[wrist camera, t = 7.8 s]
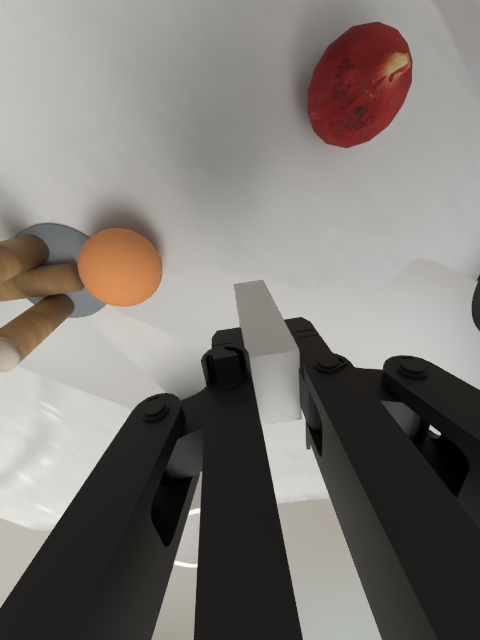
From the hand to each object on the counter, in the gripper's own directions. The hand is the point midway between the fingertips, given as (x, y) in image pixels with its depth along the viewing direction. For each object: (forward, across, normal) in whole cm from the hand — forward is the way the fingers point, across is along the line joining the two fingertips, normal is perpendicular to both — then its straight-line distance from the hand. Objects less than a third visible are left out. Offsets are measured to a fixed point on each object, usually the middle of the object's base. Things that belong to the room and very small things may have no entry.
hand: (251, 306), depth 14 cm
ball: (+8, +9, -1) cm, 12 cm away
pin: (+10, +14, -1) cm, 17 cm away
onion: (+12, -9, -10) cm, 18 cm away
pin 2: (+11, +17, +2) cm, 20 cm away
